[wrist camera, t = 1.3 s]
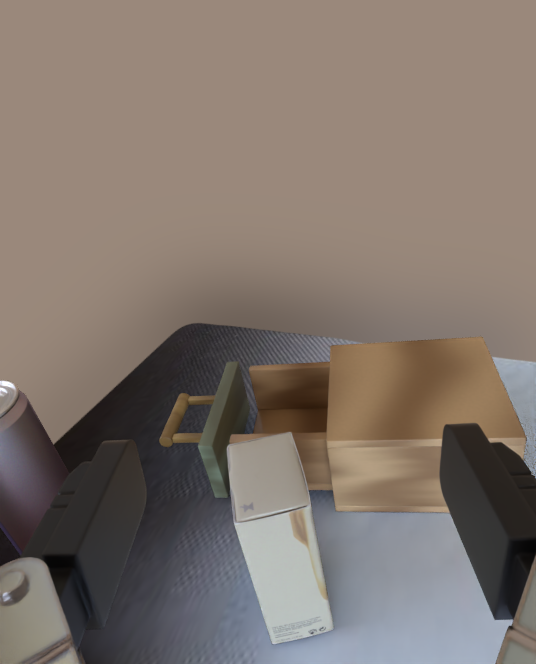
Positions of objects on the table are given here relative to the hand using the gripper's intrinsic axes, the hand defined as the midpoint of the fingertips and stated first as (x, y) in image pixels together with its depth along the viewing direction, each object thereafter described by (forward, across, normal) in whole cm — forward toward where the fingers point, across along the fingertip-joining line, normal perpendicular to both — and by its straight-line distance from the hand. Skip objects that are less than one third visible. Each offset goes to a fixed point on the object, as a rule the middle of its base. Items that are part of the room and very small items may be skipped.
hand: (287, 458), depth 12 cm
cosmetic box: (+13, +1, +23) cm, 26 cm away
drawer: (+26, +3, +20) cm, 33 cm away
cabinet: (+24, -10, +20) cm, 33 cm away
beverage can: (+19, +21, +24) cm, 37 cm away
